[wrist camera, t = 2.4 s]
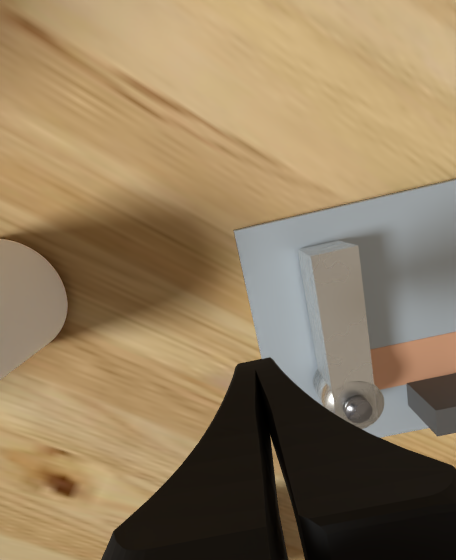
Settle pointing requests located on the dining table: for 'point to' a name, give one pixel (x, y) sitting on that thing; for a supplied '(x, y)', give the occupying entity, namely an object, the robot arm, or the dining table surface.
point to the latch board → (370, 298)
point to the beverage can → (27, 304)
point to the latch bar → (340, 332)
